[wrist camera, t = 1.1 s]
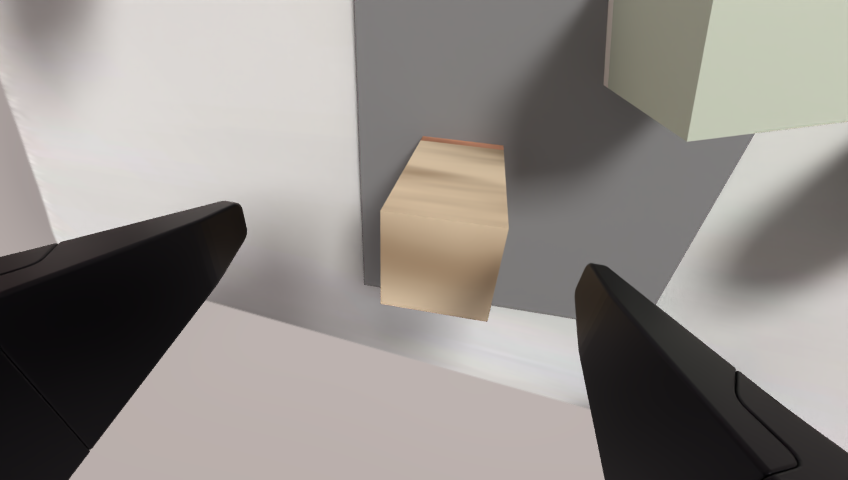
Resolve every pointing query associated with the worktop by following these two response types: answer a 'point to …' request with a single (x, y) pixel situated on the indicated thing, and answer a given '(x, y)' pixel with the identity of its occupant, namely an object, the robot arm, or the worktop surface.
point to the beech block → (445, 229)
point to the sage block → (730, 63)
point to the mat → (533, 140)
